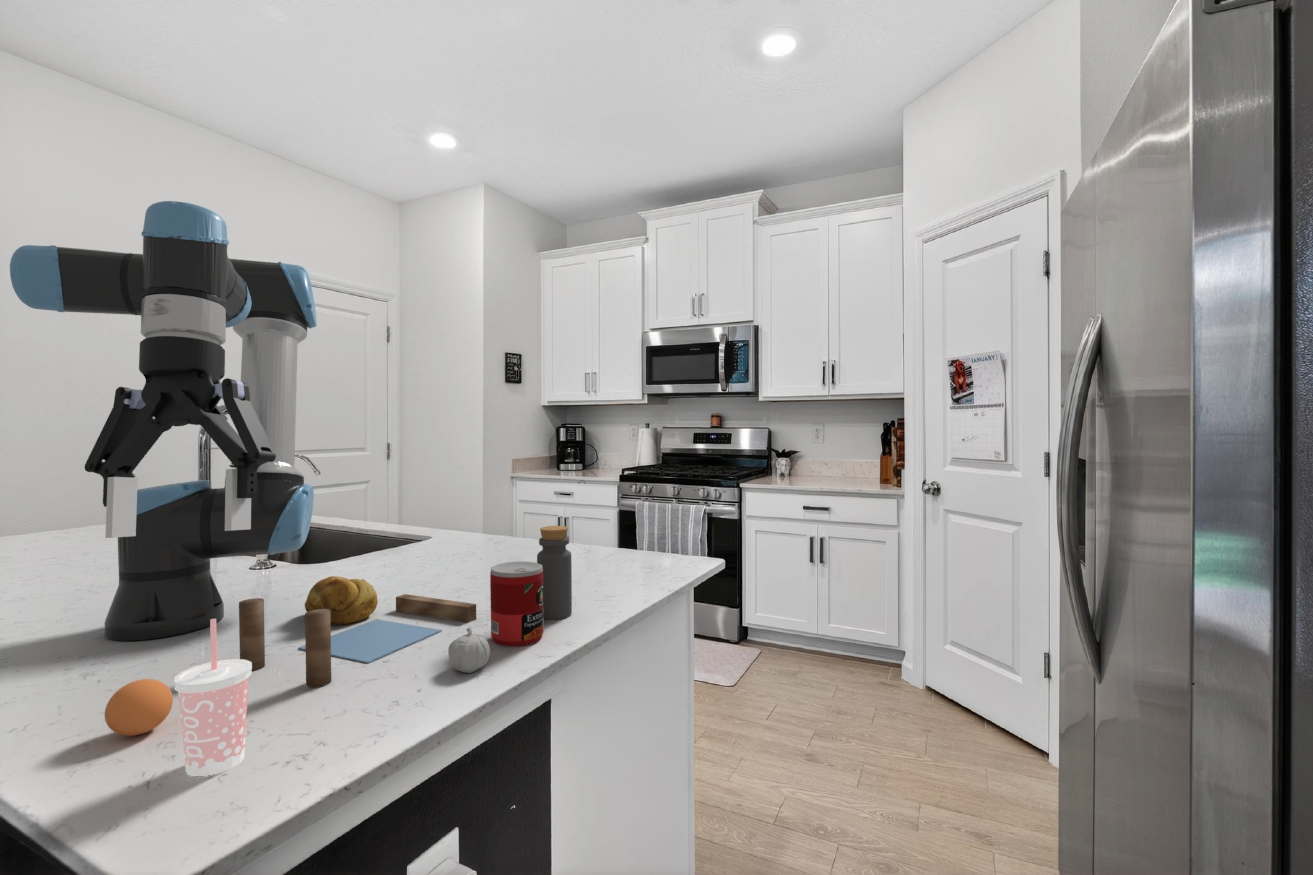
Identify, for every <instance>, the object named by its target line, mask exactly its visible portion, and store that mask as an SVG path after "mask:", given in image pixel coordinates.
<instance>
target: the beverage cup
mask: <svg viewBox="0 0 1313 875" xmlns="http://www.w3.org/2000/svg"><path fill="white" fill-rule="evenodd" d="M209 627H210V628H209V629H210V630H209V631H210V661H208V662H206V663H202V664H198V665H195V666H192V667H189V668H188V669H185V670H183V671H181V672H180V673H178V674H176V675H175V676H174V678H173V679H174V680H173V685H174V691H176V692H177V695H178V706H179V713H180V714H179V715H180V726H181V734H182V746H183V755H184V756H183V757H184V763H185V764H184V765H185V766H184V767H185V773H186V772H187V773H188V774H190V775H193V776H205V775H206V776H205V777H209V776H208V775H211V776H214V775H213V774H215V775H218V774H221V772H222V773H224V772H226V770H227V771H229V770H231V769H233V768H235V767H236V766H237V765H239V764H241V762H242V761H243V760H244V759H245V752H246V751H245V750H246V738H247V737H246V734H247V714H248V696H249V679H250V676H252V672H253V671H251V670H252V662H250V661H248V660H243V659H240V658H232V659H221V660H218V646H217V645H218V642H217V636H218V634H217V622H216V619H211V620H210V625H209ZM188 774H187V775H188Z"/></svg>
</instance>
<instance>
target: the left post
mask: <svg viewBox="0 0 1313 875" xmlns="http://www.w3.org/2000/svg"><path fill="white" fill-rule="evenodd" d="M238 621H239V622H238V625H239V626H238V627H239V628H238V629H239V632H238V633H239V659H243V660H248V661H250V662H252V670H251V671H252V672H253V671H259V670H261V669H263V668H264V667H265V666H266V650H265V649H266V646H265V645H266V644H265V642H266V641H265V640H266V639H265V637H266V636H265V599H264V598H259V597H256V598H249V599H244V600H241V601H239V602H238Z"/></svg>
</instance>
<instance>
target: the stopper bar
mask: <svg viewBox="0 0 1313 875" xmlns="http://www.w3.org/2000/svg"><path fill="white" fill-rule="evenodd" d="M395 612H399V613H406V614H412V615H419V616H425V617H430V618H431V617H432V618H437V619H438V618H439V619H443V620H449V621H450V620H451V621H457V622H463V623H470V622H473V621H475V620H477V604H476V603H471V602H466V601H464V602H463V601H458V600H456V601H455V600H449V599H441V598H435V597H434V598H433V597H428V596H421V595H414V594H406V593H404V594H401V595H397V596H396V597H395Z"/></svg>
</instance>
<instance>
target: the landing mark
mask: <svg viewBox="0 0 1313 875" xmlns="http://www.w3.org/2000/svg"><path fill="white" fill-rule="evenodd" d="M442 631H443V630H442V629H438V628H433V627H426V626H420V625H414V624H408V623H402V622H397V621H390V620H383V619H376V618H375V619H374V620H370V621H368V622H366V623H363V624H360V625H357V626H354V627H352V628H349V629H346V630H344V631H340V632H337V633H335V634H333V635H331V657H336V658H340V659H345V660H350V661H356V662H360V663H365V664H370V663H372V662H374V661H378V660H379V659H382V658H384V657H386V656H388V655H391V654H393V653H395V652H397V651H400V650H402V649H405V648H407V647H409V646H411V645H414V644H416V643H419V642H420V641H423V640H425V639H427V638H429V637H432V636H434V635H436V634H439V633H441V632H442ZM298 650H300V651H305V652H306V646H305V645H301V646H299V647H298Z"/></svg>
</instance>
